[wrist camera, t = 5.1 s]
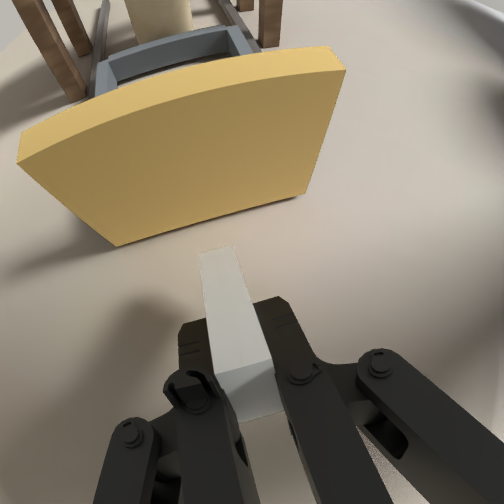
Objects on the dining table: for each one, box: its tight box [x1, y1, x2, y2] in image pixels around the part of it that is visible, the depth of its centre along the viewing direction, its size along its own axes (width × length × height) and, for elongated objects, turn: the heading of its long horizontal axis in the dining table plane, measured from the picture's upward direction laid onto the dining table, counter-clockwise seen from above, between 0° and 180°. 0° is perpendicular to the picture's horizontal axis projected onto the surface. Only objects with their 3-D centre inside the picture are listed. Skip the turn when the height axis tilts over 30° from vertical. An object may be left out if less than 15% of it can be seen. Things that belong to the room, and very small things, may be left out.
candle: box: [124, 0, 194, 45], centre depth 19 cm, size 6×6×10 cm
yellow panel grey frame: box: [16, 24, 346, 247], centre depth 16 cm, size 12×16×10 cm
